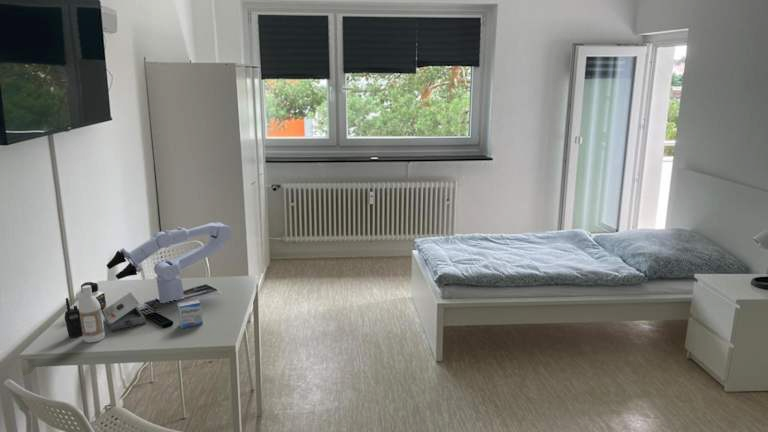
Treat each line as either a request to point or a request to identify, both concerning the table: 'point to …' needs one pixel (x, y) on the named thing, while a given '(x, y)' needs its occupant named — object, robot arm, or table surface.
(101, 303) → the medicine bottle
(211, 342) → the table surface
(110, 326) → the flat grey box
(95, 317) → the bath foam
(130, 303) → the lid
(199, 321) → the medicine box
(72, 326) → the two-way radio
